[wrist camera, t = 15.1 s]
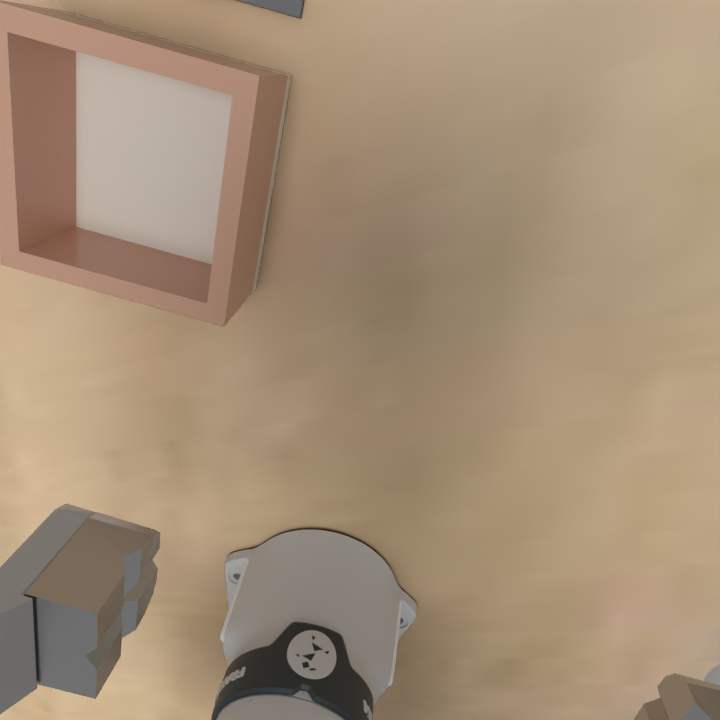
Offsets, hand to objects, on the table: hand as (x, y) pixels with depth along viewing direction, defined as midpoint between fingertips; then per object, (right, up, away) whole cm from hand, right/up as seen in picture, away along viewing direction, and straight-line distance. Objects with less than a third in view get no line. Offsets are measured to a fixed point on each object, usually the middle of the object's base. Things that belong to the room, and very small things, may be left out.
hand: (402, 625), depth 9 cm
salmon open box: (-13, +17, +28) cm, 35 cm away
